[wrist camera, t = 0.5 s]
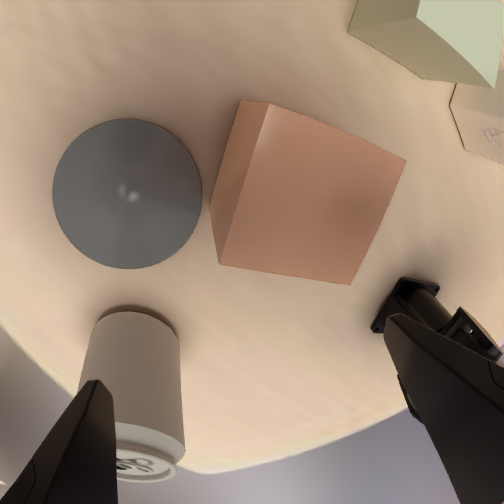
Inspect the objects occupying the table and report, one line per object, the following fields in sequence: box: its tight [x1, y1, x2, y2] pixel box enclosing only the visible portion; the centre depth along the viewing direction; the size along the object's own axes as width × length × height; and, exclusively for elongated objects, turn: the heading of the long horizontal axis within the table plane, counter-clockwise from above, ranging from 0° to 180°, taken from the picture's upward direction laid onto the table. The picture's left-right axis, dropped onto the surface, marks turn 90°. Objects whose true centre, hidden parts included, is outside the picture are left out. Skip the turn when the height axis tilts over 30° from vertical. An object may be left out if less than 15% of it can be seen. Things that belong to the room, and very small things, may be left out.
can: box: [77, 311, 185, 482], centre depth 18 cm, size 8×8×12 cm
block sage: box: [347, 0, 504, 89], centre depth 11 cm, size 7×7×7 cm
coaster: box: [53, 119, 202, 269], centre depth 17 cm, size 10×10×1 cm
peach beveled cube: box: [209, 100, 406, 285], centre depth 16 cm, size 7×7×7 cm
